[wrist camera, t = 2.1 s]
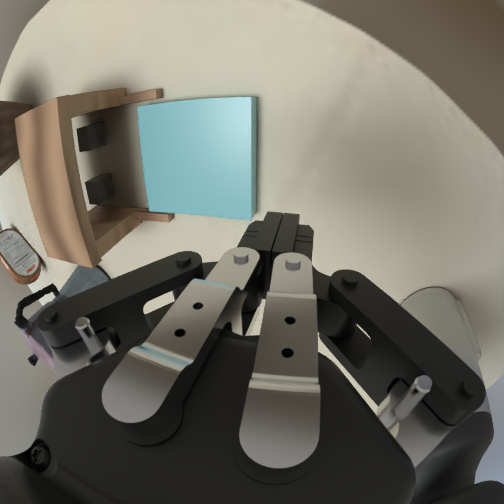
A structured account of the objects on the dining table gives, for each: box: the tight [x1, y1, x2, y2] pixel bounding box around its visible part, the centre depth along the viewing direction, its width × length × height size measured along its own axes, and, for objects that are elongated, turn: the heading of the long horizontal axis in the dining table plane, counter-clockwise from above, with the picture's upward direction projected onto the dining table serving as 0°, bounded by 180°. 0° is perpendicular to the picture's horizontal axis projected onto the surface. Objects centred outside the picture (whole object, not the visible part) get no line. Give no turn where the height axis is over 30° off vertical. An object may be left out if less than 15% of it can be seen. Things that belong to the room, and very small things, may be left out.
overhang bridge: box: [15, 88, 174, 268], centre depth 25 cm, size 14×17×10 cm
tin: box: [0, 229, 41, 285], centre depth 42 cm, size 15×3×8 cm, turn 51°
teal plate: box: [137, 97, 257, 221], centre depth 26 cm, size 12×12×2 cm
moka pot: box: [14, 265, 109, 370], centre depth 34 cm, size 10×15×20 cm, turn 0°
